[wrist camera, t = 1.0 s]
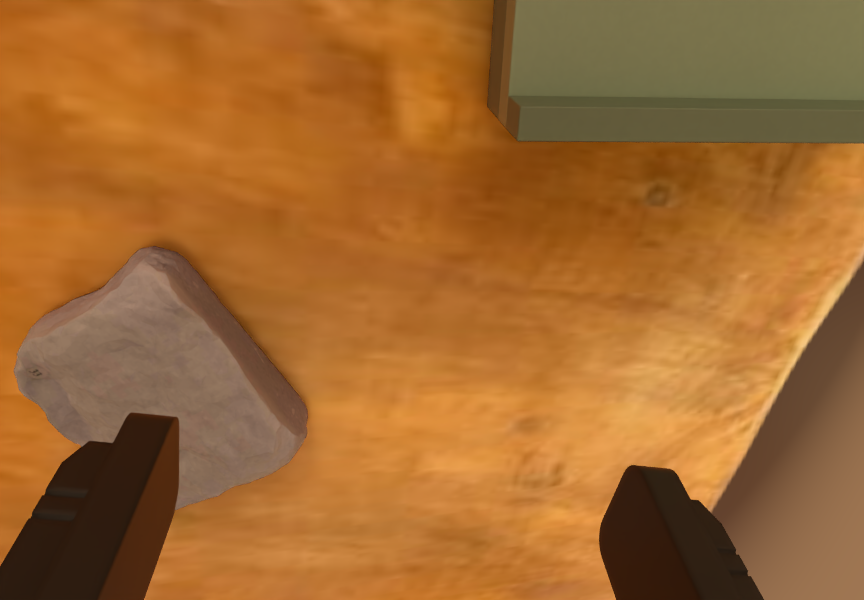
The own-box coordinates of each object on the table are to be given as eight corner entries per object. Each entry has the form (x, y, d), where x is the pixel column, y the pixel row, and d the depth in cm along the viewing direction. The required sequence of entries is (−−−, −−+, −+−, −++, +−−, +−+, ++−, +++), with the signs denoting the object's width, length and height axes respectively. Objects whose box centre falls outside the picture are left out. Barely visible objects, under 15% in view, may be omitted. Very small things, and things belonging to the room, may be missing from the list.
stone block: (187, 465, 37) (331, 408, 34) (147, 535, 33) (307, 478, 30) (31, 305, 32) (182, 220, 29) (-38, 363, 28) (129, 272, 25)
